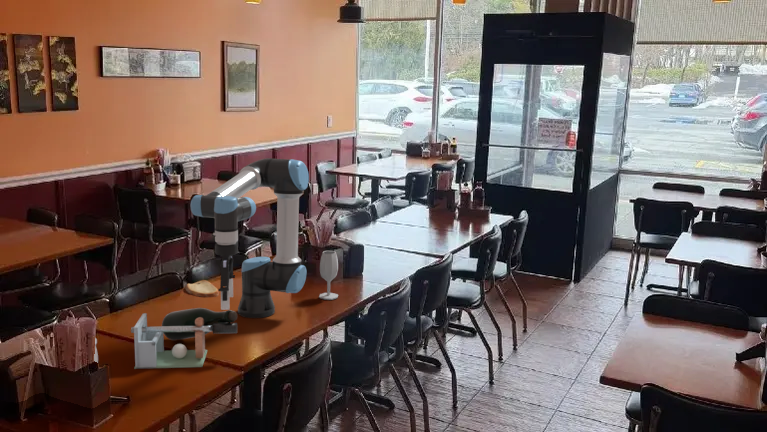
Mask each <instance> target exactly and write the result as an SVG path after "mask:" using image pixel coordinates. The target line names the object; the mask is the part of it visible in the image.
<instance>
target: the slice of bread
mask: <svg viewBox="0 0 767 432" xmlns="http://www.w3.org/2000/svg"><path fill="white" fill-rule="evenodd" d="M218 289H219V288H217V287H216V286H215V285H214V284H213V283H211V282H210V281H208V280H206V279H202V280H198V281H196V282H194V283H187V284H186V286H185V291H186V292H187V293H188V294H190V295H193V296H196V297H202V298H216V297H219V296H220V291H218Z"/></svg>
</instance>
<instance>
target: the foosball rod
mask: <svg viewBox="0 0 767 432" xmlns="http://www.w3.org/2000/svg"><path fill="white" fill-rule="evenodd" d="M195 325H196V326H162V325H161V326H147V327H142V333H154V332H195V337H194V338H195V339H194V343H195V344H194V345H195V347H194V348H195V349H194V350H195V351H196V358H203V356H204V353H205V350H206V334H205V332H209V331H210V332H212V334H217V335H218V334H237V333H238V323H237V322H232V323H213V326H203V325H204V319H203V318H201V317H199V318H197V319H196V320H195ZM134 327H135V326H131V329H130V332H131V334H132V333H133V334H134ZM210 332H209V333H210Z"/></svg>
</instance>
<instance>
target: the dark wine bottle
mask: <svg viewBox="0 0 767 432" xmlns="http://www.w3.org/2000/svg"><path fill="white" fill-rule="evenodd" d="M199 317H201V318H203V319H204V325H203V326H213V323H235V321H236V320H238V312H236V311H235V310H232V309H231V310H230V309H229V310H225V311H223V310H222V311H214V310H211V309H208V308H204V307H196V308H194V307H193V308H189V309H188V308H187V309H182V310H175V311H171V312H169V313H167V314H166V315H165V316H164V317H163V320H162V323H161V326H196V325H195V320H196V319H197V318H199ZM209 333H211V331H209V332H205V335H207V334H209ZM163 336H165V337H166V338H167V339H168V340H171V341H180V340H186V339H190V338H191V339H192V338H195V332H163Z"/></svg>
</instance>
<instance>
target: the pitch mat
mask: <svg viewBox="0 0 767 432" xmlns="http://www.w3.org/2000/svg"><path fill="white" fill-rule="evenodd" d="M207 354H208V349H205V353H204V356H203V358H196V351H195V349H187V353H186V355H185V356H184V357H183V358H180V359H178V358H175V357H174V356H173V354H172V349H171V350H164V352H156V356H157V366H156V367H154V368H153V369H171V368H172V369H175V368H176V369H177V368H203V365H204V362H205V360H206V357H207ZM134 365H135V364H134ZM140 368H142V369H144V368H143V367H140ZM140 368H137V367H136V365H135V366H134V370H136V369H140ZM145 369H152V368H151V367H148V368H147V367H146V368H145Z"/></svg>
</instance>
